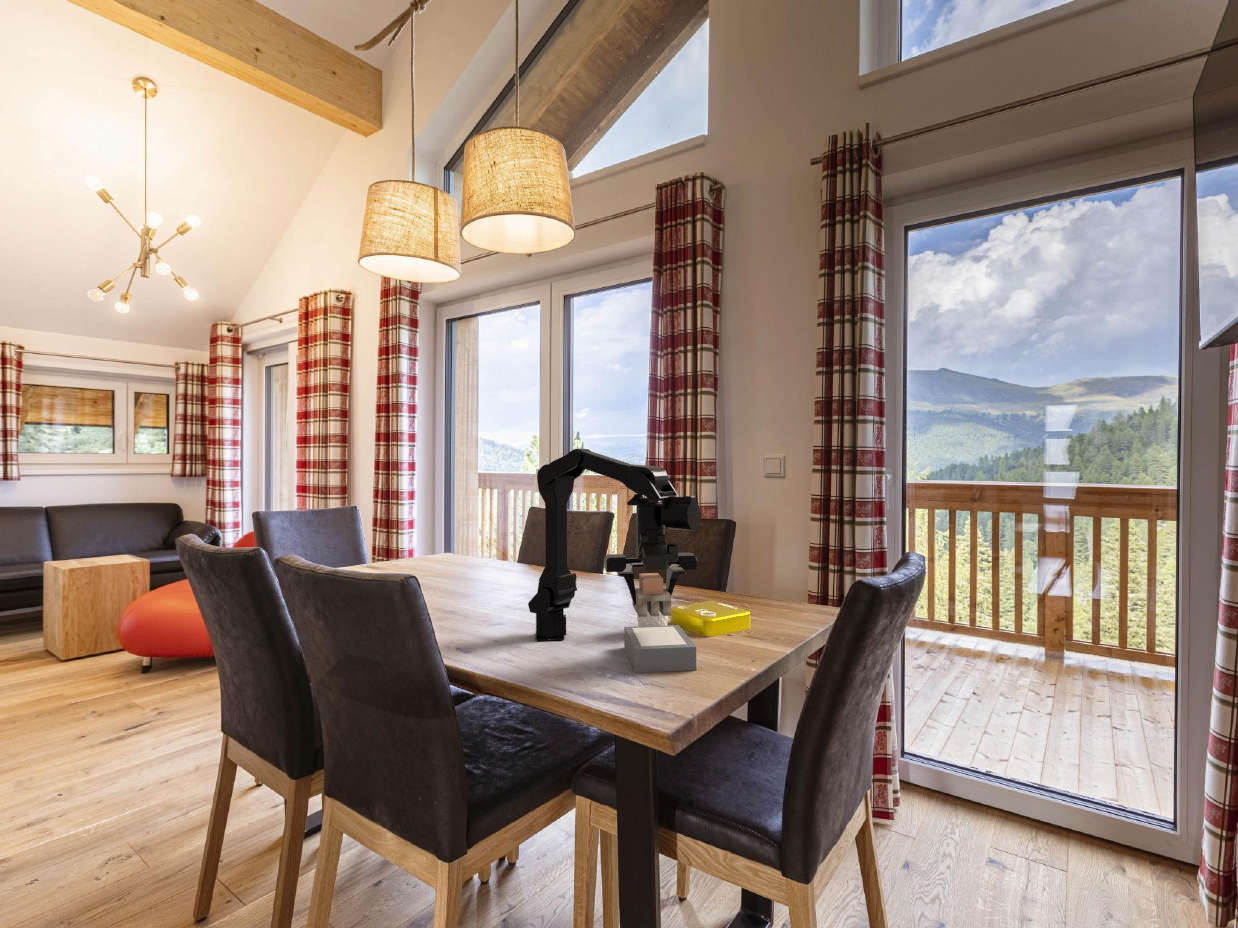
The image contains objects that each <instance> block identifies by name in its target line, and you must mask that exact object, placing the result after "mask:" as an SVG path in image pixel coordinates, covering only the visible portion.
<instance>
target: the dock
mask: <svg viewBox="0 0 1238 928" xmlns="http://www.w3.org/2000/svg"><path fill="white" fill-rule="evenodd" d="M623 630H624V631H623V632H624V634H623V636H624V637H623V640H624V642H623V643H624V650H625V652H626V655H627V657H628V659H629V661H630V665H631V666H632V669H633V671H634V673H635V674H636V673H638V674H639V673H658V672H659V673H660V672H662V673H663V672H682V671H684V672H685V671H697V646H696V645H695V643H694V642H693V641H692V640H691V639H690V638H689V636H688V635H687V633H686V632H685V630H684V629H682V628H681V627H680V626H679V625H671V624H667V625H662V626H638V625H636V626H634V625H633V626H624V627H623Z"/></svg>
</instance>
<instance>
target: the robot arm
mask: <svg viewBox="0 0 1238 928" xmlns="http://www.w3.org/2000/svg"><path fill="white" fill-rule="evenodd" d="M585 470H587V471H588V472H589V471H590V472H593V473H595V474H598V475H601V476H603V477H607V478H610V479H613V480H615V481H618V482H620V483H622V484H623V485H624V486H625V487H626V488H627V489H628V490H630V491H632V492H633V493H634V494H633V496H632V498H630V499H629V500H628V501H627V502H626V504H627V505H628V506H634V507H635V506H636V507H635V509H636V515H635V516H636V557H626V556H625V554H624V553H616V554H615V553H614V554H613V553H612V554H606V555H605V556H604V559H603V560H604V563H603V565H604V566H603V567H604V569H605V572H606V573H617V575H618V576H620V577H623V578H624V581H625V583H626V585H627V588H628V591H629V594H630V597H631V601H633V604H634V605H636V592H635V586H636V584H635V573H634V571H633V568H642V567H643V568H644V570H646V571H653V570H662V571H666V577H665V578H666V579H665V580H666V581H665V589H666V590H667V591H668V592H669V594H670V595H671V597H672V595H673V592H674V589H675V586H676V584H677V582H678V581H679V578H681V576H682V575H686V574H687V571H695V570H696V571H697V570H699V559H698V557H697V556H696V555H695V554H694V553H692V552H690V551H689V552H679V545H678V543H668V544H667V543H666V537H665V531H666V530H665V528H666V529H668V530H676V531H677V530H679V531H680V530H681V531H694V532H695V531H697V530H698V529H699V527H700V525H701V521H702V510H701V509H700V505H699V504H698V502H697V501H696V500H697V498H696V495H685V496H683V495H682V496H680V495H679V493H678V492H677V491H676V489H675V488H674V486H673V484H672V483H671V482H670V480H669V476H668V473H667V470H666V469H665V468H663V467H662V466H654V465H644V464H634V463H633V464H632V463H629V462H625V461H622V460H619V459H616V458H614V457H611V456H607V455H603V454H601V453H597V452H594V451H592V450H590V449H588V448H574V449H572V450H570V451H569V452H568V453H566V454H565V455H562V456H560V457H559V458H557V459H554V460H553V461H551V462H550V463H547V464H543V465H542V466H541V467H540V468H539V469H538V470H537V474H536V480H537V487H538V493H539V494H540V496H541V498H542V500H543V502H544V507H545V508H544V511H545V512H544V514H545V515H544V526H545V528H544V532H545V533H544V534H545V537H544V539H545V542H544V546H545V547H544V548H545V549H544V550H545V551H544V555H545V556H544V557H545V561H544V562H545V565H544V568H543V570H542V571H541V574H540V576H539V579H538V583H537V584H538V585H537V592H536V593H535V595H534V596H533V597H532V598H531V599H530V600H529V601H528V603H527V605H528V609H529V612H530V613H532V614H535V638H534V639H535V641H536V642H537V641H563V640H565V636H566V635H567V615H566V614H564V613H565V612H564V610H565V609H568V608H570V605H571V601H572V600H573V598H574V597H575V595H576V591H578V587H577V573H575V572H573V573H572V571H571V570H570V568H569V566H568V501H569V499H570V497H571V495H572V494H573V491H574V486H575V480H577V478H580V476H582V474H584V472H585Z"/></svg>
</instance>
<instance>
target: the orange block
mask: <svg viewBox="0 0 1238 928" xmlns="http://www.w3.org/2000/svg"><path fill="white" fill-rule="evenodd" d="M638 580H639V581H638V583H639V584H638V586H639V588H640V590H641V591H642V593H643V594H663V587H664V578H663V577H662V576H661V575H660V573H659V572H652V573H648V572H647V573H639V574H638Z"/></svg>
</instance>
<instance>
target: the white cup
mask: <svg viewBox="0 0 1238 928" xmlns="http://www.w3.org/2000/svg"><path fill="white" fill-rule="evenodd" d="M636 614H637V613H636ZM636 620H637V626H662V625H668V623H669V616H663V615H662V613H661V612H660V611H659V616H651V615H650V614H649V612H648V611H647V617H639V616H638V614H637V617H636Z"/></svg>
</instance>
